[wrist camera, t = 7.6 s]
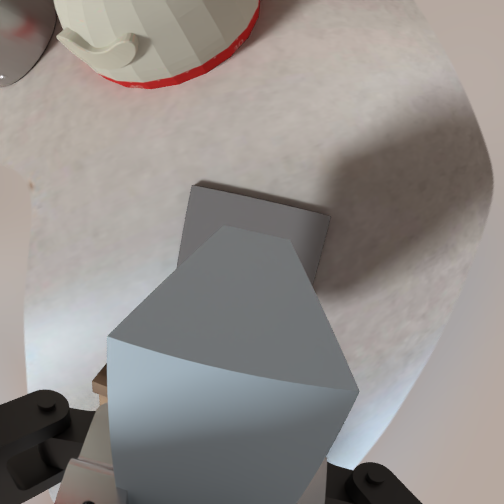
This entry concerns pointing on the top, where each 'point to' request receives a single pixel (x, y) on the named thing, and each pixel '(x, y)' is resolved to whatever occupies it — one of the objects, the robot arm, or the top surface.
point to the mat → (253, 223)
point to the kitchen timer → (154, 37)
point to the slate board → (226, 379)
